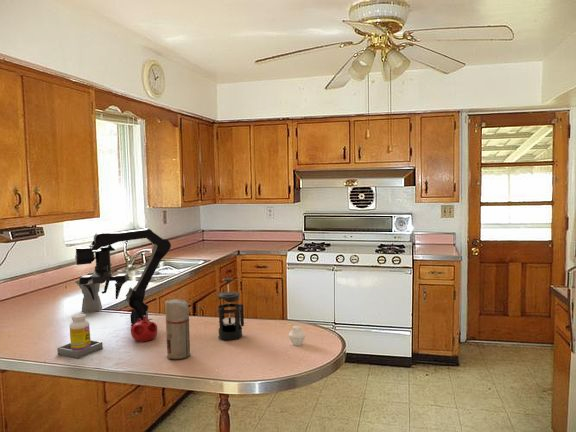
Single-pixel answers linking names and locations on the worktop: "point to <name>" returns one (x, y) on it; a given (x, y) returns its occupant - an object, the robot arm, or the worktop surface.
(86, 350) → the tray
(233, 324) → the french press
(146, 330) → the red ball with holes
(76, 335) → the supplement bottle
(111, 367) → the worktop surface
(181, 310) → the spray can
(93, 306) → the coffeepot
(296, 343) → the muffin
